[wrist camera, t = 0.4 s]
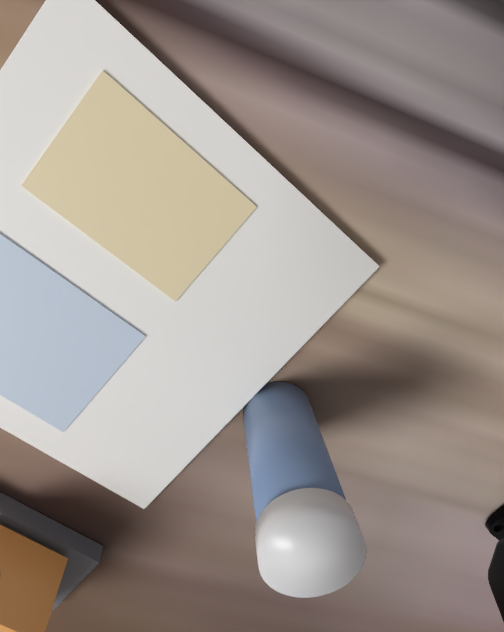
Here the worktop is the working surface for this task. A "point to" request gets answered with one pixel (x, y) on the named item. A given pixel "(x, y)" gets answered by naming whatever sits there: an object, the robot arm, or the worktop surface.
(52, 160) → the sheet
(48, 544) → the switch base
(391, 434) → the worktop surface
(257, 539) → the marker
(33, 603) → the orange cube
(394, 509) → the worktop surface
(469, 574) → the worktop surface
